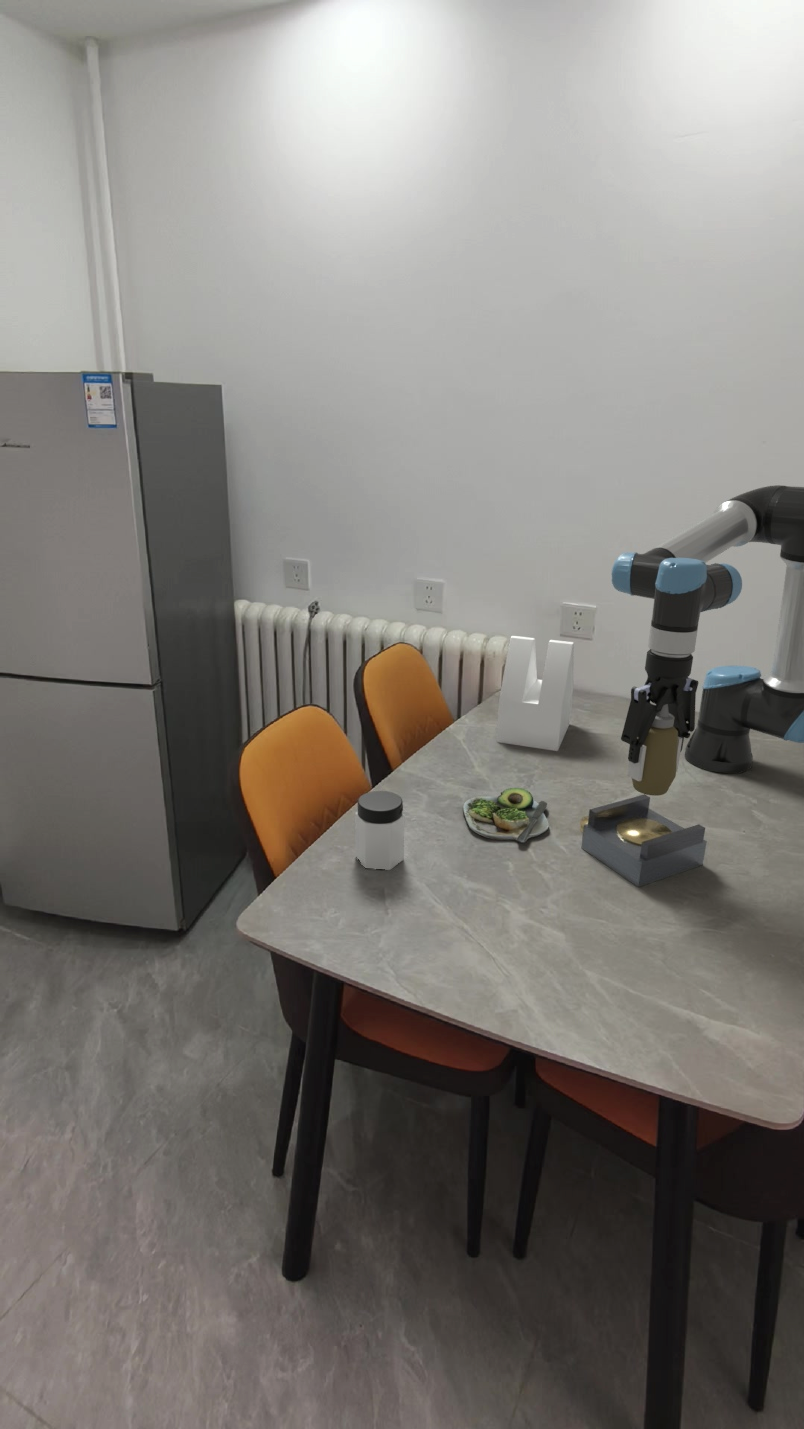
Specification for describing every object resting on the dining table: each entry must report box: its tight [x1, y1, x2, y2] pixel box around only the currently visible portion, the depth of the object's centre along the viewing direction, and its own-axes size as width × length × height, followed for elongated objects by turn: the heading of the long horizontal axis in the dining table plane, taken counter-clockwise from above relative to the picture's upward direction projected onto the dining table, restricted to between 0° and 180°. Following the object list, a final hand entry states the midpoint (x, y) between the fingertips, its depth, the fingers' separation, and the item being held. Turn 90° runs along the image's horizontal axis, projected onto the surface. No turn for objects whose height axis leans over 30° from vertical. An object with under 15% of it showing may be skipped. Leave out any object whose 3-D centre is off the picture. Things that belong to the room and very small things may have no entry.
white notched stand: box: [495, 635, 575, 752], centre depth 201 cm, size 19×15×25 cm
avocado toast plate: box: [462, 787, 550, 844], centre depth 159 cm, size 19×18×5 cm
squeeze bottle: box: [631, 704, 678, 796], centre depth 141 cm, size 8×8×18 cm
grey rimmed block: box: [580, 794, 707, 888], centre depth 147 cm, size 16×15×8 cm
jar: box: [354, 790, 406, 871], centre depth 144 cm, size 9×8×12 cm
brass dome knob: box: [579, 815, 589, 835], centre depth 157 cm, size 6×6×2 cm
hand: (652, 773), depth 142 cm, fingers closed on squeeze bottle, 8 cm apart
